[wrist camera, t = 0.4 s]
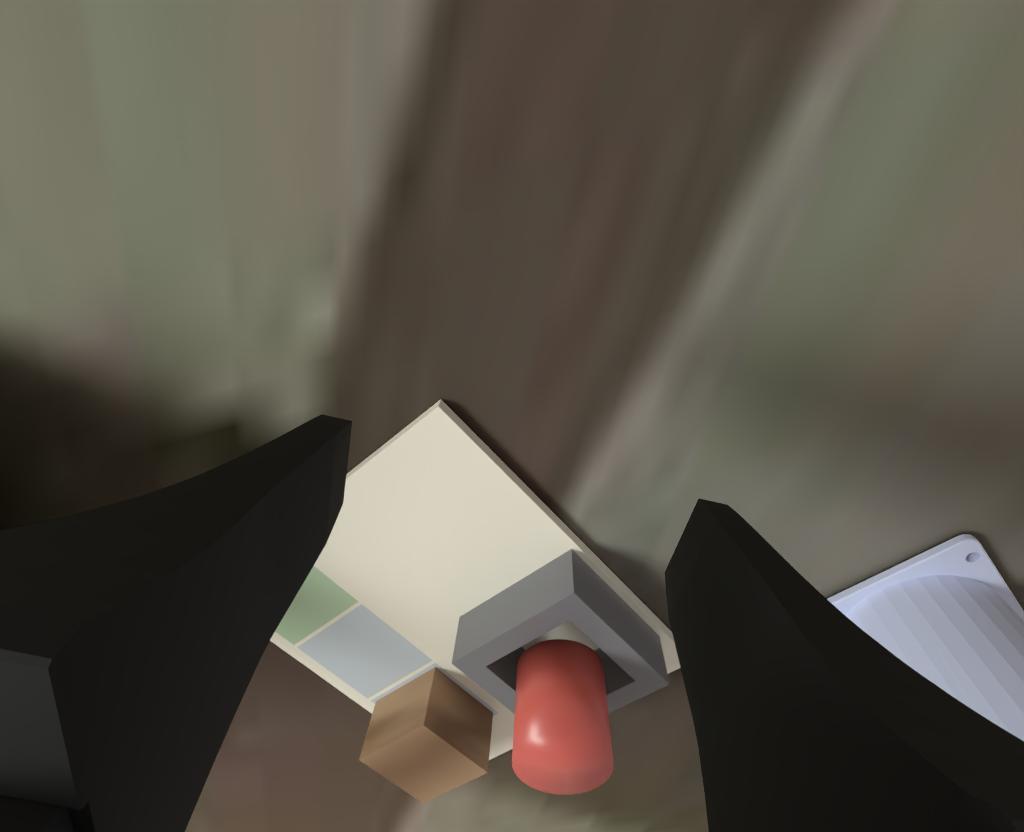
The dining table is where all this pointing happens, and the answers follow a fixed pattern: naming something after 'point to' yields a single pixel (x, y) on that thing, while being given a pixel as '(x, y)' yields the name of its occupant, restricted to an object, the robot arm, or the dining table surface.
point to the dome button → (561, 719)
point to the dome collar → (542, 607)
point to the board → (428, 566)
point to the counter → (428, 736)
